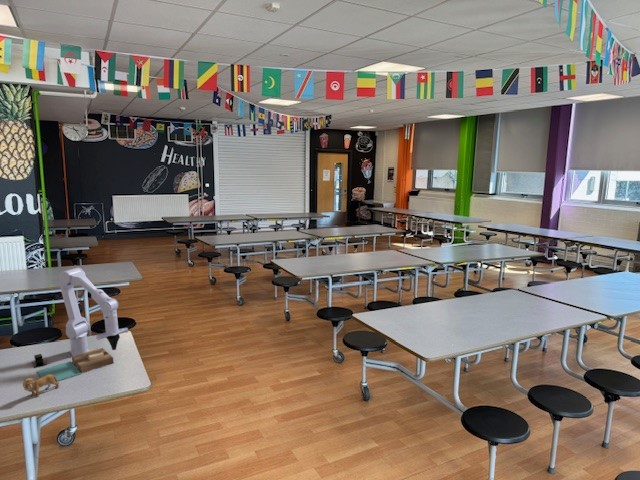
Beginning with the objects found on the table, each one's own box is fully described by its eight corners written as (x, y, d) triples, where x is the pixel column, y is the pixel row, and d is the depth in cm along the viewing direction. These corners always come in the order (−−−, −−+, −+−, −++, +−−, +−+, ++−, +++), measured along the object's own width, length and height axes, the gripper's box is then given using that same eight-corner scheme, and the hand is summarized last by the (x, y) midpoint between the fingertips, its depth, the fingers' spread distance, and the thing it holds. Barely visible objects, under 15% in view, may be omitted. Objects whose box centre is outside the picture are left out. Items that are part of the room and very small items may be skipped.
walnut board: (72, 362, 208) (71, 356, 207) (103, 353, 217) (102, 347, 217) (81, 373, 196) (81, 367, 196) (113, 363, 206) (113, 357, 205)
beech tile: (85, 355, 208) (84, 351, 208) (98, 351, 212) (97, 347, 212) (90, 361, 202) (90, 357, 201) (104, 357, 206) (103, 353, 205)
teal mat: (37, 371, 199) (37, 370, 198) (70, 361, 208) (70, 361, 208) (45, 385, 186) (45, 384, 186) (81, 374, 195) (81, 373, 195)
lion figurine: (30, 402, 172) (27, 382, 170) (21, 400, 174) (18, 379, 172) (63, 385, 185) (61, 366, 184) (54, 383, 187) (52, 364, 186)
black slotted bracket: (29, 362, 210) (27, 353, 209) (46, 358, 214) (45, 349, 213) (32, 371, 200) (31, 361, 199) (50, 366, 205) (49, 357, 204)
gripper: (98, 329, 203) (101, 356, 205) (129, 321, 213) (131, 347, 215) (93, 325, 208) (96, 351, 210) (124, 318, 218) (126, 343, 220)
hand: (114, 349), depth 213 cm, fingers closed
